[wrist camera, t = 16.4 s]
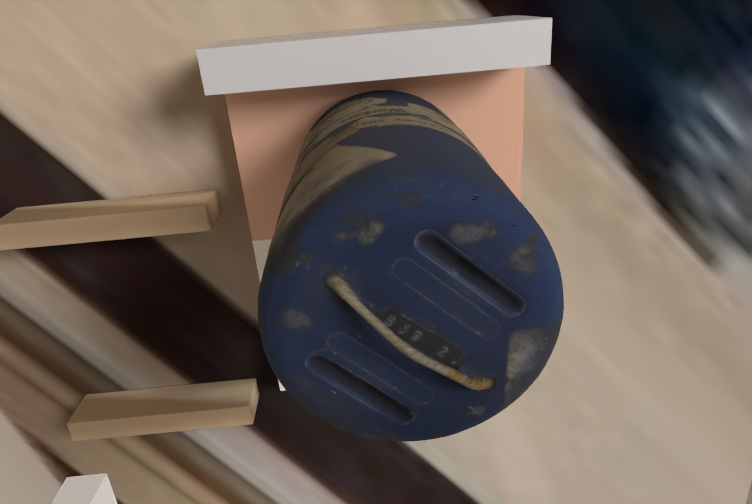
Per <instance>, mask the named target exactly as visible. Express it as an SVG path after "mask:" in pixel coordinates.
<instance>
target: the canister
mask: <svg viewBox="0 0 752 504" xmlns="http://www.w3.org/2000/svg"><path fill="white" fill-rule="evenodd" d="M563 309H564V302H563V286H562V278H561V273H560V269H559V266H558V262H557V259H556V257H555V254H554V252H553V249H552V247H551V245H550V243H549V241H548V239H547V237H546V235H545V234H544V232H543V230H542V229H541V227H540V226H539V224H538V223H537V222H536V220H535V219H534V218H533V216H532V215H531V214H530V213H529V212H528V210H527V209H526V208H525V207H524V206H523V204H522V203H521V202H520V201H519V200H518V199H517V197H516V196H515V195H514V194H513V192H512V191H511V190H510V189H509V187H508V186H507V185H506V184H505V182H504V181H503V180H502V179H501V178H500V177H499V176H498V175H497V174H496V173H495V171H494V170H493V169H492V168H491V167H490V165H489V164H488V162H487V161H486V159H485V158H484V156H483V155H482V154H481V153H480V152H479V150H478V149H477V148H476V147H475V145H474V144H473V143H472V142H471V141H470V139H469V138H468V137H467V136H466V135H465V134H464V133H463V132H462V130H461V129H459V128H458V127H457V126H456V125H455V123H454V122H453V121H452V120H451V119H450V118H449V117H448V116H447V115H446V114H445V113H443V112H442V111H441V110H440V109H439V108H437V107H436V106H435V105H433V104H432V103H430V102H428V101H426V100H424V99H422V98H420V97H418V96H415V95H412V94H409V93H406V92H401V91H393V90H375V91H369V92H364V93H360V94H357V95H354V96H351V97H349V98H347V99H345V100H343V101H341V102H339V103H337V104H336V105H334V106H333V107H331V108H330V109H329V110H328V111H326V112H325V113H324V114H323V115H322V116H321V117H320V118H319V119H318V120H317V121H316V123H315V124H314V125H313V126H312V128H311V129H310V131H309V132H308V134H307V136H306V138H305V140H304V142H303V144H302V147H301V149H300V152H299V155H298V159H297V162H296V165H295V169H294V171H293V174H292V176H291V180H290V182H289V184H288V187H287V189H286V192H285V195H284V199H283V203H282V206H281V210H280V214H279V217H278V220H277V223H276V228H275V231H274V234H273V237H272V240H271V243H270V246H269V250H268V255H267V259H266V263H265V267H264V270H263V275H262V279H261V283H260V289H259V297H258V320H259V330H260V335H261V340H262V345H263V349H264V352H265V354H266V357H267V359H268V361H269V364H270V366H271V368H272V370H273V371H274V373H275V375H276V376H277V378H278V380H279V381H280V383H281V384H282V386H283V387H284V388H285V390H286V391H287V392H288V394H289V395H290V396H291V397H292V398H293V399H294V401H296V402H297V403H298V404H300V405H301V406H302V407H304V408H305V409H306V410H308V411H309V412H311V413H312V414H313V415H315V416H316V417H318V418H320V419H321V420H323V421H325V422H326V423H328V424H331V425H333V426H335V427H337V428H340V429H342V430H345V431H347V432H350V433H353V434H356V435H359V436H363V437H366V438H371V439H378V440H393V441H420V440H429V439H435V438H440V437H445V436H449V435H452V434H456V433H459V432H461V431H464V430H466V429H469V428H471V427H473V426H476V425H478V424H480V423H482V422H484V421H486V420H488V419H490V418H491V417H493V416H495V415H496V414H498V413H499V412H501V411H502V410H503V409H505V408H506V407H508V406H509V405H510V404H511V403H513V402H514V401H515V400H516V399H517V398H519V397H520V396H521V395H522V394H523V393H524V392H525V391H526V390H527V389H528V387H529V386H530V385H531V384H532V383H533V382H534V381H535V380H536V378H537V377H538V376H539V375H540V373H541V371H542V370H543V368H544V367H545V365H546V363H547V361H548V359H549V357H550V355H551V353H552V351H553V349H554V346H555V344H556V341H557V338H558V335H559V332H560V327H561V323H562V318H563Z"/></svg>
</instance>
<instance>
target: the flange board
mask: <svg viewBox="0 0 752 504" xmlns="http://www.w3.org/2000/svg"><path fill="white" fill-rule="evenodd" d="M551 36H552V18H547V17H533V16H519V15H512V16H501V17H490V18H479V19H467V20H456V21H445V22H434V23H423V24H411V25H400V26H389V27H378V28H366V29H355V30H344V31H333V32H321V33H310V34H299V35H288V36H277V37H265V38H254V39H243V40H232V41H222V42H219V43H216V44H213V45H209V46H206V47H203V48H200V49H196V53H197V58H198V63H199V68H200V73H201V78H202V83H203V88H204V93H205V96H207V95H218V94H225V99H226V104H227V109H228V115H229V120H230V125H231V131H232V136H233V141H234V147H235V152H236V157H237V163H238V168H239V173H240V179H241V184H242V189H243V195H244V200H245V205H246V211H247V216H248V221H249V227H250V232H251V237H252V243H253V248H254V253H255V259H256V264H257V269H258V275H259V280H260V283H261V279H262V275H263V270H264V267H265V263H266V259H267V255H268V250H269V246H270V243H271V240H272V237H273V234H274V231H275V228H276V223H277V220H278V217H279V214H280V210H281V206H282V203H283V199H284V195H285V192H286V189H287V187H288V184H289V182H290V180H291V176H292V174H293V171H294V169H295V165H296V162H297V159H298V155H299V152H300V149H301V147H302V144H303V142H304V140H305V138H306V136H307V134H308V132H309V131H310V129H311V128H312V126H313V125H314V124H315V123H316V121H317V120H318V119H319V118H320V117H321V116H322V115H323V114H324V113H325V112H326V111H328V110H329V109H330V108H331V107H333V106H334V105H336V104H337V103H339V102H341V101H343V100H345V99H347V98H349V97H351V96H354V95H357V94H360V93H364V92H369V91H375V90H393V91H401V92H406V93H409V94H412V95H415V96H418V97H420V98H422V99H424V100H426V101H428V102H430V103H432V104H433V105H435V106H436V107H437V108H439V109H440V110H441V111H442V112H443V113H445V114H446V115H447V116H448V117H449V118H450V119H451V120H452V121H453V122H454V123H455V125H456V126H457V127H458V128H459V129H461V130H462V132H463V133H464V134H465V135H466V136H467V137H468V138H469V139H470V141H471V142H472V143H473V144H474V145H475V147H476V148H477V149H478V150H479V152H480V153H481V154H482V155H483V156H484V158H485V159H486V161H487V162H488V164H489V165H490V167H491V168H492V169H493V170H494V171H495V173H496V174H497V175H498V176H499V177H500V178H501V179H502V180H503V181H504V182H505V184H506V185H507V186H508V187H509V189H510V190H511V191H512V192H513V194H514V195H515V196H516V197H517V199H518V200H519V201H520V202H521V183H522V147H523V111H524V76H525V67H529V66H540V65H550V58H551ZM278 381H279V380H278ZM279 387H280V391H283V390H285V388H284V387H283V386H282V384H281V383H280V381H279Z"/></svg>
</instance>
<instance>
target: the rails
mask: <svg viewBox="0 0 752 504" xmlns="http://www.w3.org/2000/svg"><path fill="white" fill-rule="evenodd" d="M220 214H221V209H220V204H219V199H218V194H217V189H216V190H205V191H194V192H183V193H172V194H161V195H151V196H140V197H129V198H118V199H107V200H96V201H85V202H74V203H63V204H52V205H41V206H31V207H20V208H16V209H15V210H13V211H11V212H10V213H8V214H7V215H5V216H3V217H2V218H0V250H9V249H20V248H31V247H42V246H53V245H64V244H74V243H85V242H96V241H107V240H118V239H129V238H139V237H150V236H161V235H172V234H183V233H193V232H204V231H211V229H212V227H213V226H214V224H215V222H216V221H217V219H218V217H219V216H220ZM258 399H259V392H258V387H257V382H256V378H254V379H243V380H233V381H222V382H212V383H201V384H191V385H180V386H170V387H159V388H149V389H138V390H128V391H117V392H107V393H96V394H86V395H85V397H84V398H83V400H82V401H81V403H80V404H79V406H78V407H77V409H76V410H75V412H74V413H73V415H72V416H71V418H70V419H69V421H68V422H67V427H68V429H69V432H70V434H71V437H72V439H73V441H82V440H93V439H103V438H114V437H124V436H134V435H145V434H155V433H166V432H176V431H187V430H197V429H207V428H218V427H228V426H239V425H249V424H253V421H254V416H255V412H256V408H257V403H258Z"/></svg>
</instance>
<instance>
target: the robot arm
mask: <svg viewBox="0 0 752 504" xmlns="http://www.w3.org/2000/svg"><path fill="white" fill-rule="evenodd" d="M52 504H117V501H116V498H115V496H114V493H113V490H112V487H111V485H110V482H109V479H108V476H107V474H106V473H105V474H95V475H85V476H74V477H67V478H66V480H65V481H64V483H63V485H62V486H61V488H60V490H59V491H58V493H57V495H56V496H55V498H54V500H53V502H52ZM746 504H752V482H751V486H750V490H749V494H748V498H747V502H746Z"/></svg>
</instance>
